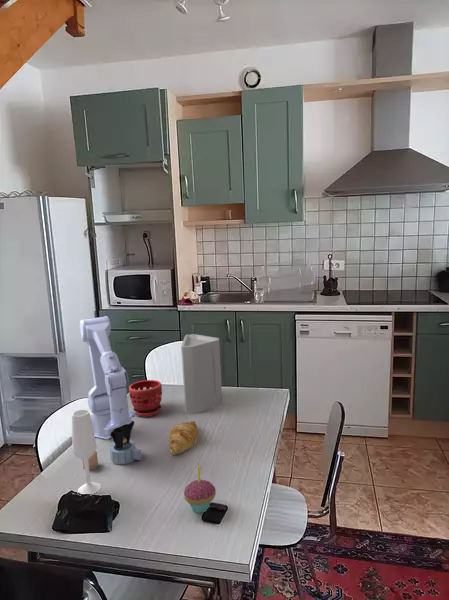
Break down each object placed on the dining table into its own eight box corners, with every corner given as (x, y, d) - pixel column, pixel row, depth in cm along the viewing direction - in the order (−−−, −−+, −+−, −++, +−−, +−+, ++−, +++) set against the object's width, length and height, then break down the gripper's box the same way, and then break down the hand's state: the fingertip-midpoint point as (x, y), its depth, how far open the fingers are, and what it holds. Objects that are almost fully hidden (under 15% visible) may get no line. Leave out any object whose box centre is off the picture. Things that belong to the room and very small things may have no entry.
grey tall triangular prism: (222, 412, 177) (218, 345, 172) (185, 414, 177) (180, 347, 172) (222, 394, 196) (219, 333, 191) (189, 395, 196) (185, 334, 191)
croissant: (182, 468, 145) (191, 449, 142) (155, 453, 146) (164, 434, 144) (200, 436, 165) (208, 419, 163) (177, 423, 166) (185, 406, 164)
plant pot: (169, 409, 183) (167, 381, 181) (148, 421, 172) (146, 392, 170) (146, 403, 190) (144, 376, 188) (124, 415, 179) (121, 387, 177)
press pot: (104, 461, 144) (103, 449, 144) (120, 449, 152) (119, 438, 151) (133, 467, 140) (131, 455, 139) (147, 455, 147) (146, 443, 146)
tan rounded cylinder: (80, 469, 141) (78, 456, 140) (89, 461, 145) (88, 449, 144) (92, 471, 139) (90, 458, 138) (101, 463, 143) (99, 451, 142)
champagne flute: (88, 498, 125) (79, 419, 121) (72, 491, 128) (63, 415, 124) (105, 486, 131) (97, 410, 126) (90, 480, 134) (82, 406, 130)
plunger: (113, 458, 145) (112, 440, 144) (122, 451, 149) (120, 434, 148) (125, 460, 143) (123, 443, 142) (133, 453, 147) (132, 436, 146)
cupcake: (185, 499, 123) (182, 459, 120) (215, 496, 123) (213, 456, 121) (185, 519, 114) (182, 477, 112) (217, 516, 115) (215, 474, 113)
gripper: (114, 417, 135) (118, 458, 137) (142, 399, 148) (145, 437, 150) (96, 414, 138) (100, 454, 140) (125, 397, 151) (128, 434, 153)
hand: (122, 445), depth 145 cm, fingers closed on plunger, 3 cm apart
